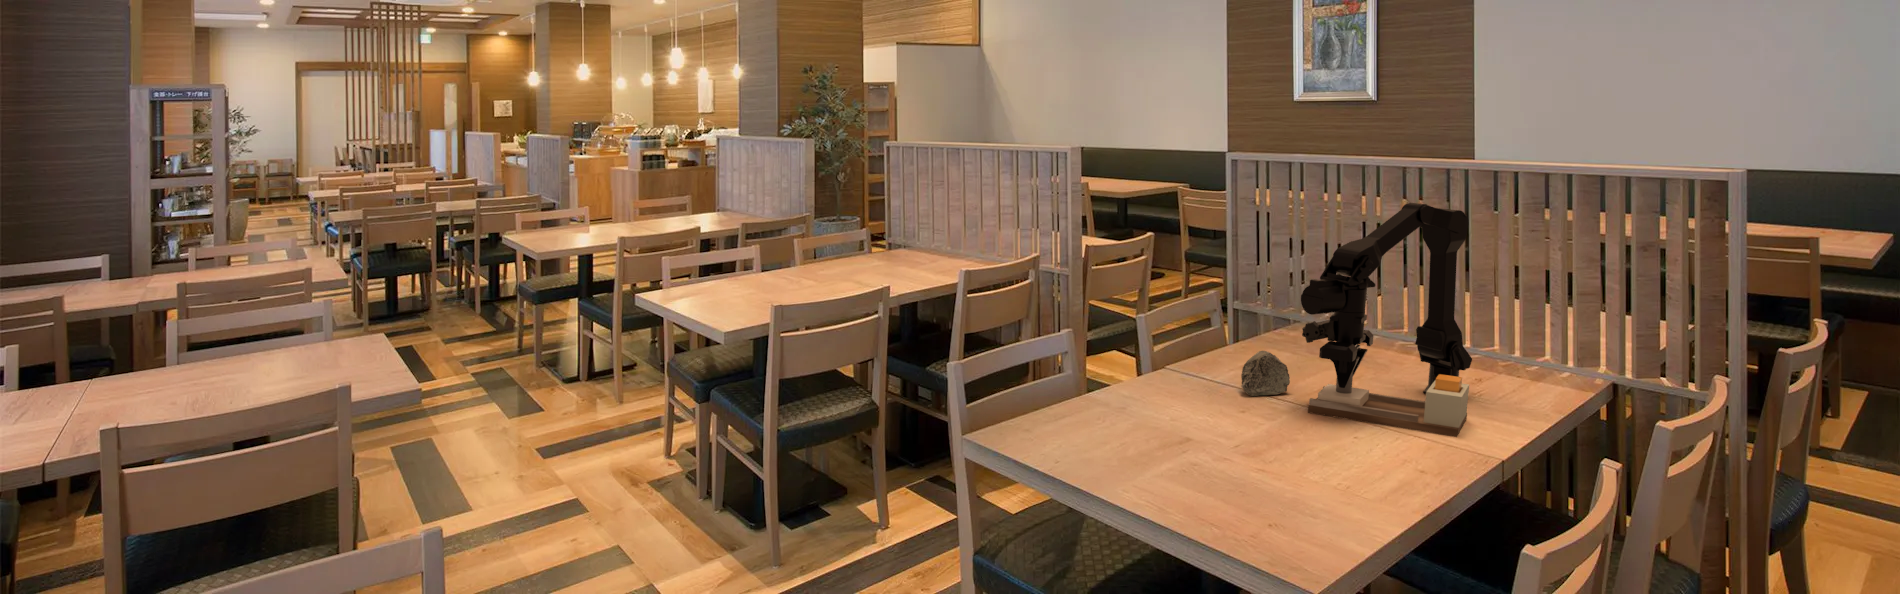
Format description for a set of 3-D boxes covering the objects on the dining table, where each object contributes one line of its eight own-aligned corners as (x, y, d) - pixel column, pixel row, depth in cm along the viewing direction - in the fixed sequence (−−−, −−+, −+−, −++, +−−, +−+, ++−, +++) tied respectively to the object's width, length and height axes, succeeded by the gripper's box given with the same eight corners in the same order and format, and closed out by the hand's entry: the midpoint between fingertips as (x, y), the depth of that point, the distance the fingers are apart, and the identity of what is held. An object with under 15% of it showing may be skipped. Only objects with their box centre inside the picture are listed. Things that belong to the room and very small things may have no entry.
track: (1323, 398, 206) (1324, 385, 205) (1466, 420, 190) (1467, 407, 190) (1308, 412, 196) (1308, 399, 196) (1457, 437, 181) (1458, 423, 180)
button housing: (1432, 409, 193) (1435, 379, 192) (1466, 414, 189) (1469, 384, 188) (1423, 422, 185) (1426, 391, 184) (1458, 427, 181) (1461, 396, 180)
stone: (1273, 352, 204) (1267, 340, 213) (1234, 380, 207) (1229, 367, 216) (1302, 386, 204) (1294, 373, 214) (1262, 414, 207) (1256, 399, 217)
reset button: (1436, 399, 189) (1439, 374, 188) (1459, 402, 187) (1462, 377, 186) (1433, 404, 186) (1435, 378, 185) (1456, 407, 184) (1459, 382, 183)
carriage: (1327, 393, 203) (1330, 355, 202) (1368, 399, 199) (1371, 361, 197) (1317, 402, 197) (1319, 364, 195) (1359, 409, 192) (1362, 369, 191)
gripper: (1320, 298, 206) (1315, 369, 209) (1295, 313, 191) (1290, 390, 194) (1376, 304, 200) (1370, 377, 203) (1354, 320, 185) (1349, 399, 188)
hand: (1344, 385), depth 197 cm, fingers closed on carriage, 3 cm apart
